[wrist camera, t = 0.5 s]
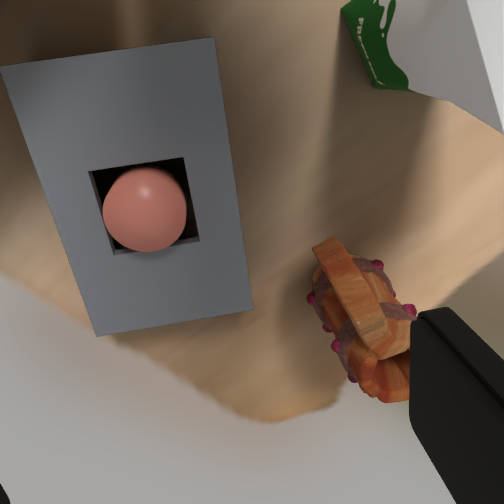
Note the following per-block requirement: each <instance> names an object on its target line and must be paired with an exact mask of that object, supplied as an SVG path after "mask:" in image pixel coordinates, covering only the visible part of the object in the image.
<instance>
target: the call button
mask: <svg viewBox="0 0 504 504" xmlns="http://www.w3.org/2000/svg"><path fill="white" fill-rule="evenodd" d="M186 207H187V200H186V194H185V191H184V188H183V186H182V185H181V183H180V182H179V180H178V179H177V178H176V177H175V176H174V175H173V174H172V173H170V172H169V171H167V170H165V169H163V168H161V167H158V166H153V165H138V166H134V167H131V168H129V169H127V170H125V171H124V172H123V173H121V174H120V175H119V176H118V177H117V179H116V180H115V182H114V183H113V185H112V187H111V189H110V191H109V192H108V194H107V196H106V198H105V201H104V205H103V219H104V223H105V225H106V228H107V229H108V231H109V233H110V234H111V235H112V237H113V238H114V239H115V240H116V241H118V242H119V243H120V244H122V245H123V246H125V247H127V248H129V249H132V250H136V251H141V252H153V251H158V250H161V249H164V248H166V247H168V246H170V245H171V244H173V243H174V242H175V241H176V240H177V239H178V238H179V236H180V235H181V233H182V231H183V229H184V226H185V223H186Z"/></svg>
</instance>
